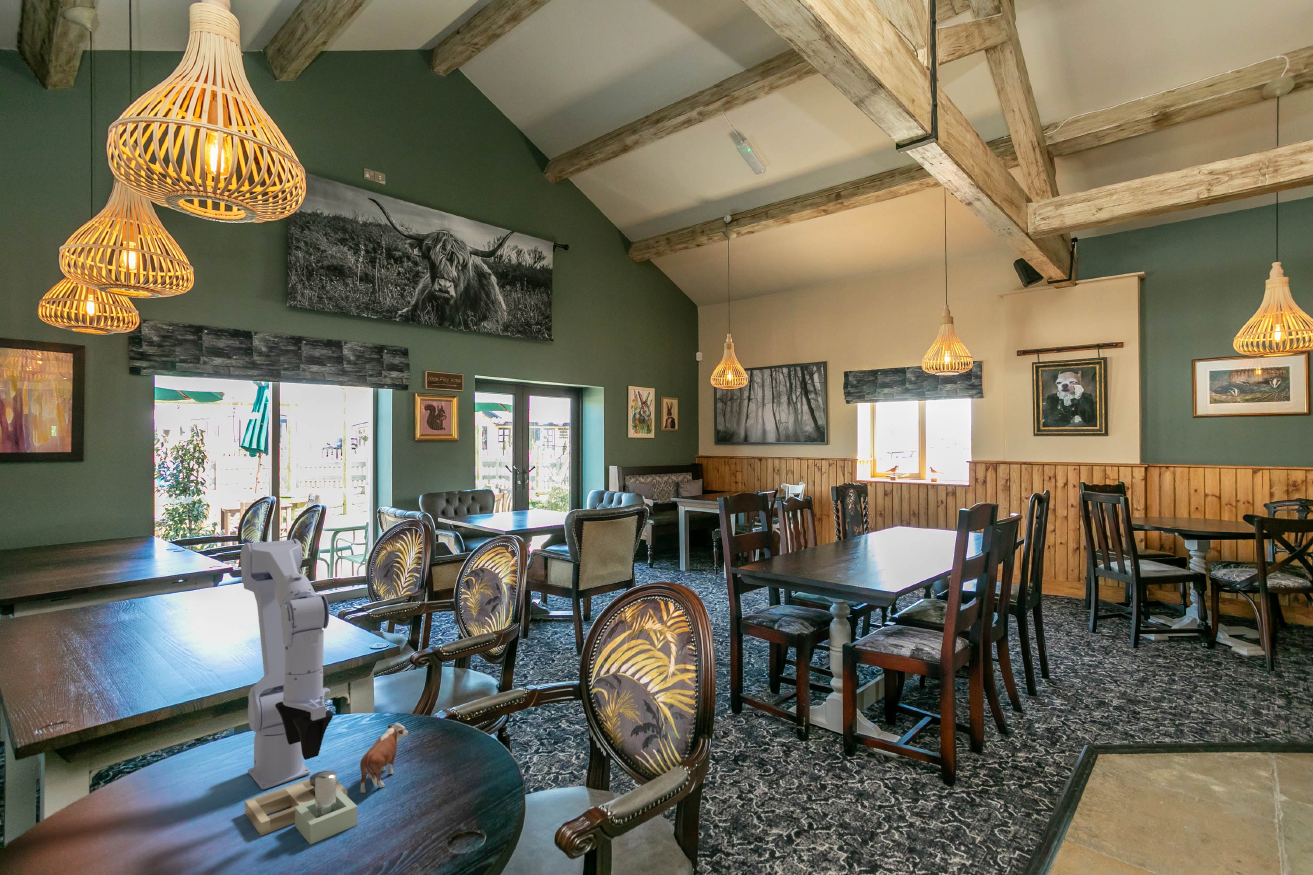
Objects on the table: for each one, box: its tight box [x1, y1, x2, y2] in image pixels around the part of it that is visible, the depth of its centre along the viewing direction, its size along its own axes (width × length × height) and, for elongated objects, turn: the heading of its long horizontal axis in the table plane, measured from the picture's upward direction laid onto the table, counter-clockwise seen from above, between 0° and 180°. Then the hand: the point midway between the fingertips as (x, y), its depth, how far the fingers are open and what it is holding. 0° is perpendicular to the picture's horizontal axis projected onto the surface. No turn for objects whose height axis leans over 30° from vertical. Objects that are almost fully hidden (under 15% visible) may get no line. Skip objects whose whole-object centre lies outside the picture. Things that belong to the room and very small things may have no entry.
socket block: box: [244, 778, 348, 836], centre depth 107 cm, size 9×13×2 cm
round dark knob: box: [309, 770, 328, 797], centre depth 109 cm, size 4×4×4 cm
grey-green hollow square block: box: [294, 790, 358, 845], centre depth 102 cm, size 7×7×3 cm
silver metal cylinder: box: [315, 770, 337, 818], centre depth 102 cm, size 3×3×8 cm
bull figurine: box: [359, 722, 409, 794], centre depth 117 cm, size 4×13×8 cm, turn 174°
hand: (303, 749), depth 107 cm, fingers open, 7 cm apart
